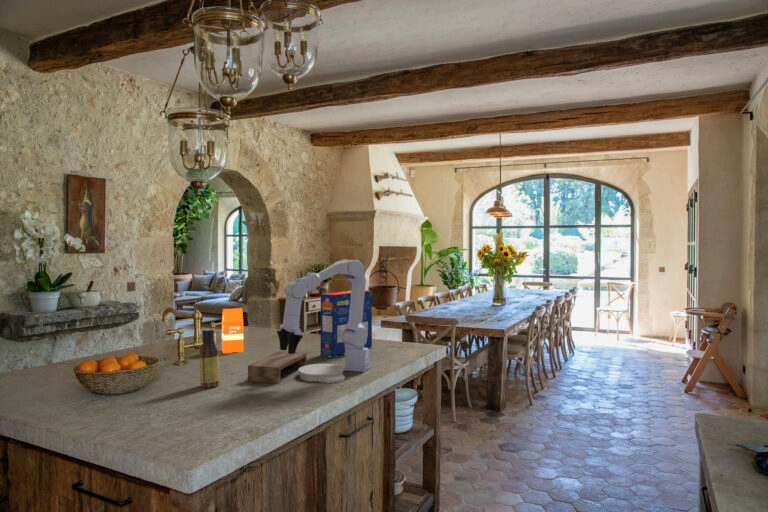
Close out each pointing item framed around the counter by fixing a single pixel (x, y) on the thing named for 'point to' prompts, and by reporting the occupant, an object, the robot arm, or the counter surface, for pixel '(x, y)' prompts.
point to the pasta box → (341, 321)
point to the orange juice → (232, 330)
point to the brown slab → (274, 366)
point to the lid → (322, 373)
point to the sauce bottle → (209, 360)
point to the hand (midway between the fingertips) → (287, 351)
